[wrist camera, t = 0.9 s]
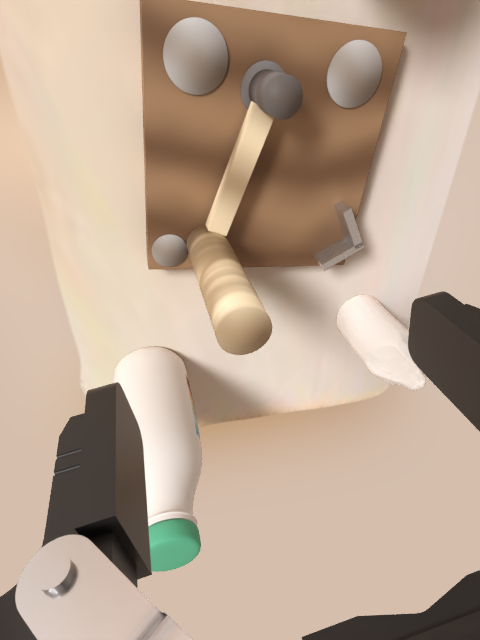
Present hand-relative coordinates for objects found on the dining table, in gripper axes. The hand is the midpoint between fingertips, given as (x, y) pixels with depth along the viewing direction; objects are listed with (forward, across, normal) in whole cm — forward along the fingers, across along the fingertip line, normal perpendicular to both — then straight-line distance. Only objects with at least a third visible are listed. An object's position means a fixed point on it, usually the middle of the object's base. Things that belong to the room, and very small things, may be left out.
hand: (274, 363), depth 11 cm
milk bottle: (+28, +8, +22) cm, 36 cm away
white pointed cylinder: (+28, -17, +22) cm, 39 cm away
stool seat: (+27, -7, +1) cm, 28 cm away
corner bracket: (+25, -13, +9) cm, 30 cm away
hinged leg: (+25, -4, +2) cm, 25 cm away
